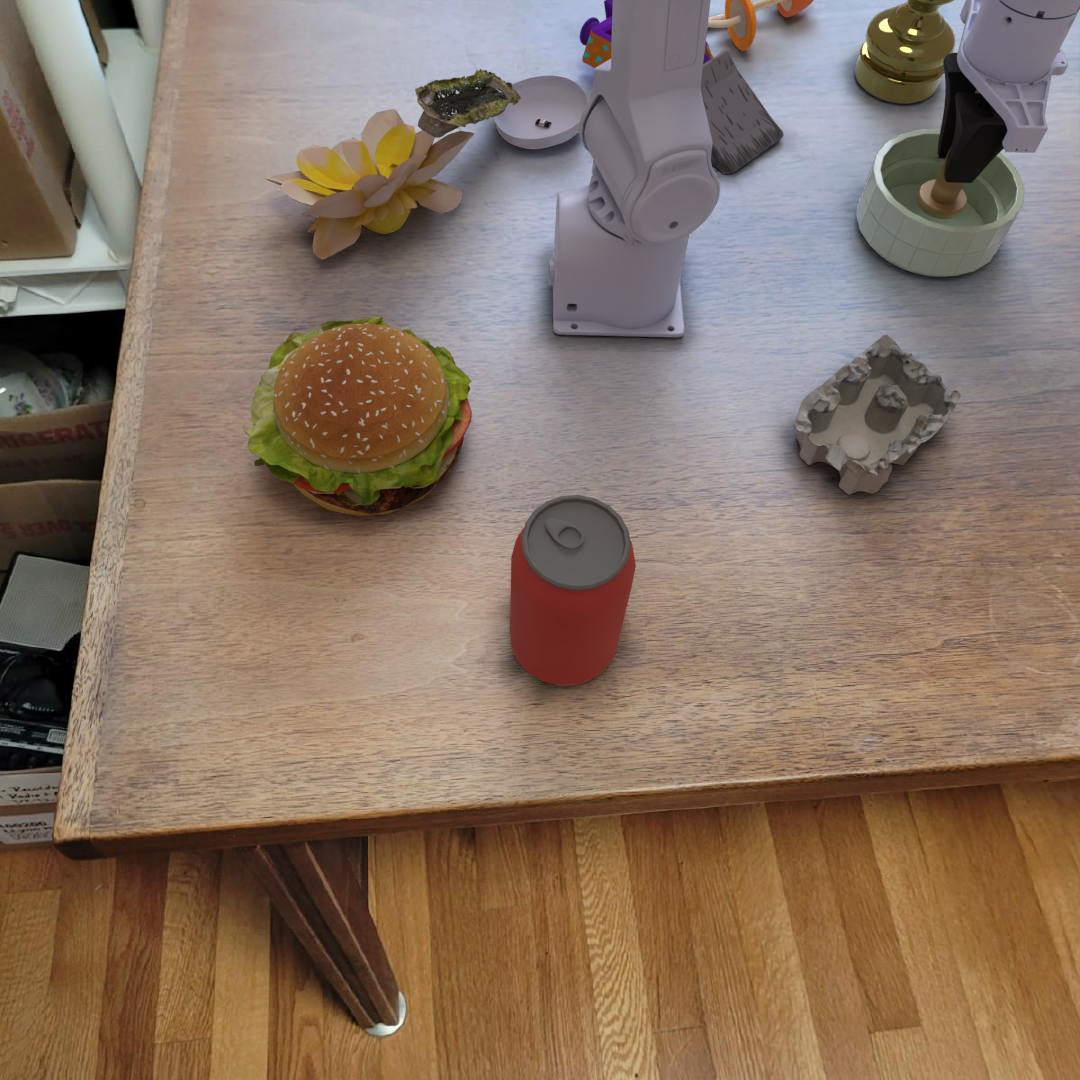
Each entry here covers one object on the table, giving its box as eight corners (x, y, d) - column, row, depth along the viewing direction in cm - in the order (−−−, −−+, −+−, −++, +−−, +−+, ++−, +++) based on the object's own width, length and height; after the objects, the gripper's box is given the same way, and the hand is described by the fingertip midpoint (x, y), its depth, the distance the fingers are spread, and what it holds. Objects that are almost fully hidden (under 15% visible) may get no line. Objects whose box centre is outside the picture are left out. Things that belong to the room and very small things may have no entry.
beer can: (555, 571, 66) (566, 464, 55) (639, 633, 64) (666, 533, 53) (487, 644, 63) (484, 545, 53) (572, 711, 61) (587, 622, 51)
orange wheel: (683, 20, 87) (857, -15, 87) (658, -50, 89) (827, -83, 90) (675, 86, 93) (836, 53, 94) (652, 20, 96) (809, -11, 97)
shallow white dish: (526, 85, 90) (523, 66, 88) (607, 109, 87) (606, 89, 85) (476, 143, 87) (472, 124, 85) (559, 169, 84) (556, 149, 82)
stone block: (548, 103, 83) (498, 111, 86) (536, 46, 81) (485, 56, 84) (451, 149, 74) (398, 157, 77) (434, 86, 72) (381, 96, 75)
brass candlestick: (838, 60, 93) (873, -52, 84) (913, 47, 94) (955, -64, 85) (876, 112, 89) (916, 2, 81) (952, 98, 91) (1000, -12, 82)
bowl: (866, 279, 79) (887, 230, 75) (844, 178, 85) (863, 126, 81) (1011, 283, 80) (1040, 234, 75) (980, 182, 85) (1005, 131, 81)
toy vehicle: (722, 181, 84) (741, 5, 71) (547, 71, 93) (536, -104, 80) (793, 130, 87) (824, -49, 74) (616, 27, 96) (616, -149, 83)
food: (331, 336, 75) (314, 253, 68) (503, 412, 72) (504, 334, 65) (215, 476, 68) (183, 400, 61) (399, 566, 65) (387, 497, 59)
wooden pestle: (920, 219, 79) (980, 87, 69) (912, 186, 81) (969, 53, 71) (967, 220, 79) (1034, 89, 69) (958, 187, 81) (1021, 54, 71)
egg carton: (859, 511, 69) (878, 477, 65) (774, 441, 71) (788, 404, 68) (956, 425, 73) (979, 388, 69) (871, 361, 75) (889, 323, 72)
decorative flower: (430, 108, 84) (429, 15, 75) (496, 219, 82) (502, 137, 72) (258, 176, 81) (233, 88, 72) (321, 293, 79) (304, 217, 69)
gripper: (1132, 67, 62) (1031, 239, 74) (1069, -72, 69) (987, 105, 81) (1015, 63, 62) (932, 236, 73) (964, -76, 69) (897, 102, 81)
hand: (954, 167), depth 77 cm, fingers closed on wooden pestle, 2 cm apart
